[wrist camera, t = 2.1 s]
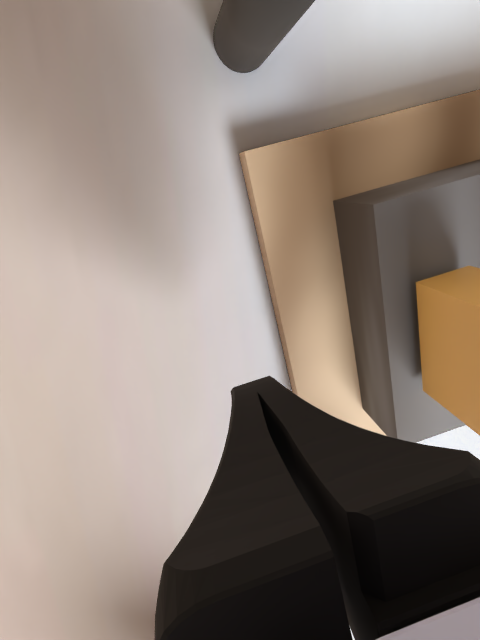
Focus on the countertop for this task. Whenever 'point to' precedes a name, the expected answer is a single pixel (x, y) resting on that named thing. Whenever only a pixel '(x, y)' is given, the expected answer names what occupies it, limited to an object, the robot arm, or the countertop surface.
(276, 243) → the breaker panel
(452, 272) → the orange cuboid
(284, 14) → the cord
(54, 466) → the countertop surface
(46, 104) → the countertop surface
